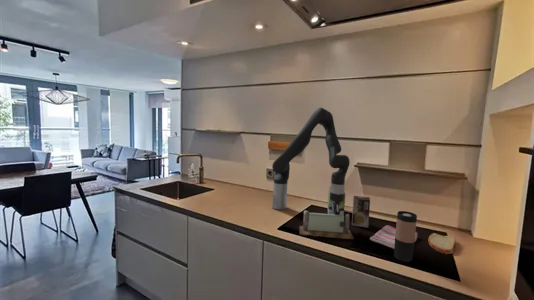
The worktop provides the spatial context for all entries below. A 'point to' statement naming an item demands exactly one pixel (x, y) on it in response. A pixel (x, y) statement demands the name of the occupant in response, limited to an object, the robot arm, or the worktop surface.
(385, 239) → the dish towel
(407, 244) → the travel mug
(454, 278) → the worktop surface
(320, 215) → the gate
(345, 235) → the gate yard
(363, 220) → the coffee box
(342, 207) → the tea box
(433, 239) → the slice of bread
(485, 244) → the worktop surface
